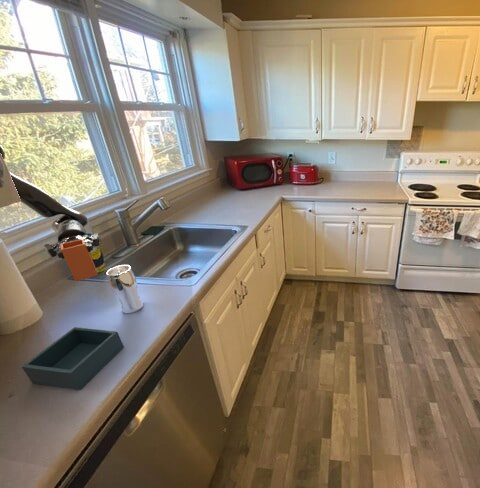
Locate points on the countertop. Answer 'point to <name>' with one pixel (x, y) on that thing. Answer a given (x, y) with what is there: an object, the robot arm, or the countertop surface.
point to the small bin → (78, 259)
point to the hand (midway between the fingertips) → (75, 252)
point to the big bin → (74, 358)
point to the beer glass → (125, 287)
